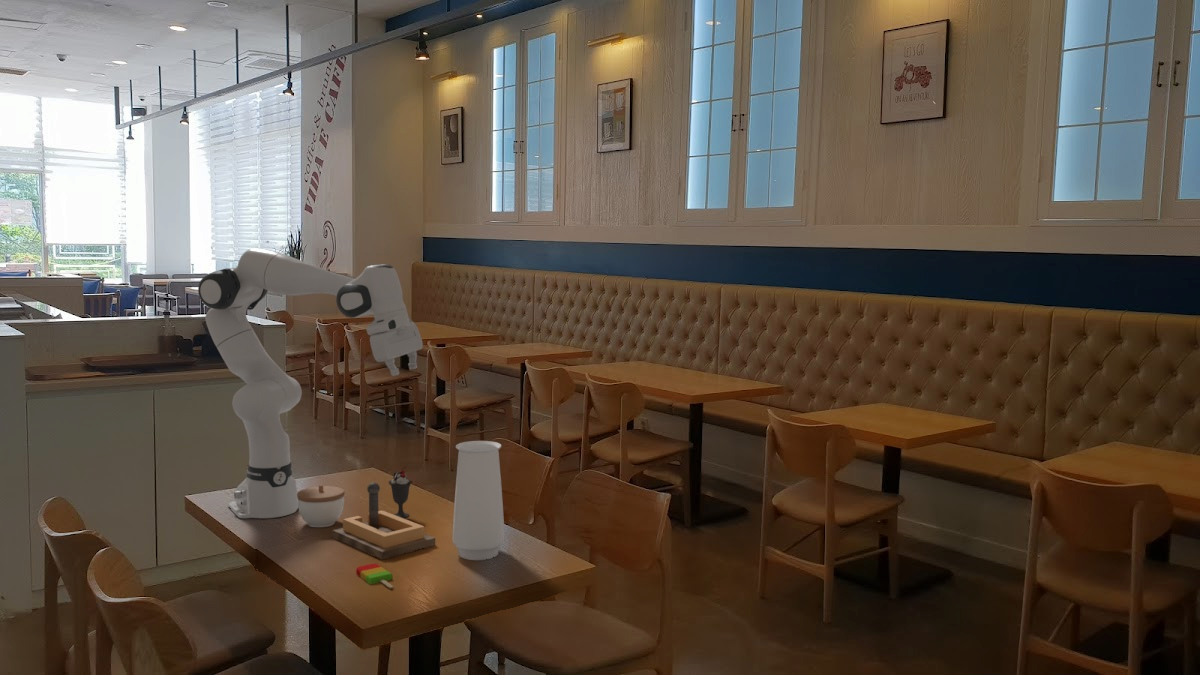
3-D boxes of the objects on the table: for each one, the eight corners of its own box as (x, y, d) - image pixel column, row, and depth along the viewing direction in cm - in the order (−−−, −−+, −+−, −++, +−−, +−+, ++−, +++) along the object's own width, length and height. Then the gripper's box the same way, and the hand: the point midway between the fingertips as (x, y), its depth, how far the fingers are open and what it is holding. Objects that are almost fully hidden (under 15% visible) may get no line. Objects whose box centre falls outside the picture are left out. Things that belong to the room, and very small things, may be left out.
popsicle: (376, 569, 223) (376, 562, 223) (403, 588, 211) (403, 580, 211) (354, 574, 220) (354, 566, 220) (380, 593, 208) (380, 585, 208)
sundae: (409, 519, 262) (409, 467, 260) (386, 519, 262) (385, 467, 261) (415, 512, 269) (414, 462, 267) (392, 512, 269) (391, 462, 267)
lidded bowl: (316, 533, 249) (315, 493, 247) (288, 524, 256) (287, 485, 255) (354, 522, 259) (353, 484, 257) (326, 514, 266) (326, 476, 265)
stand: (332, 537, 245) (331, 482, 244) (384, 524, 257) (383, 472, 255) (382, 559, 229) (381, 501, 227) (435, 545, 240) (435, 489, 239)
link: (343, 530, 245) (342, 519, 245) (382, 520, 254) (382, 510, 254) (384, 548, 231) (384, 536, 231) (424, 537, 240) (424, 526, 240)
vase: (455, 564, 226) (455, 452, 223) (450, 547, 238) (449, 441, 236) (508, 560, 229) (508, 449, 227) (499, 543, 242) (500, 439, 239)
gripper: (402, 319, 260) (413, 367, 261) (362, 329, 241) (375, 381, 242) (421, 315, 258) (433, 363, 259) (382, 325, 239) (395, 377, 240)
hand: (404, 372), depth 251 cm, fingers open, 8 cm apart
